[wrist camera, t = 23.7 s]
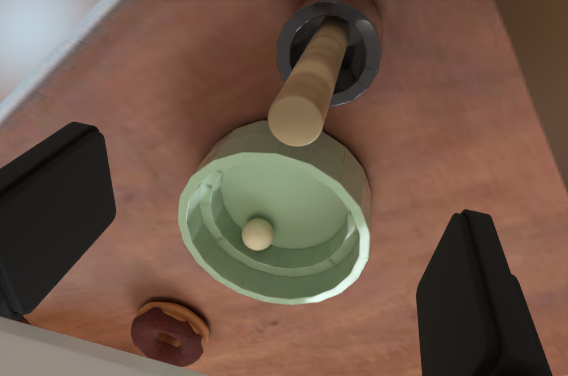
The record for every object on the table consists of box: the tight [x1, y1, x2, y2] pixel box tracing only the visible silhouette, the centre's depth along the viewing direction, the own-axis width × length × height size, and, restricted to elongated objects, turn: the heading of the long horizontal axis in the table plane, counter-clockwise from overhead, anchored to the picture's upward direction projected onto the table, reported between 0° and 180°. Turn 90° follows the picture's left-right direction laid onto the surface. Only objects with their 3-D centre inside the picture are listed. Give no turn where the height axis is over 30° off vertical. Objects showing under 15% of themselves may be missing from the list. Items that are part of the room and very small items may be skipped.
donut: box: [131, 302, 209, 367], centre depth 50 cm, size 10×10×4 cm
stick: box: [268, 16, 353, 146], centre depth 20 cm, size 2×2×16 cm
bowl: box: [178, 121, 372, 305], centre depth 34 cm, size 16×16×6 cm
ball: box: [242, 218, 274, 251], centre depth 37 cm, size 3×3×3 cm
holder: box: [277, 0, 382, 107], centre depth 25 cm, size 6×6×6 cm
